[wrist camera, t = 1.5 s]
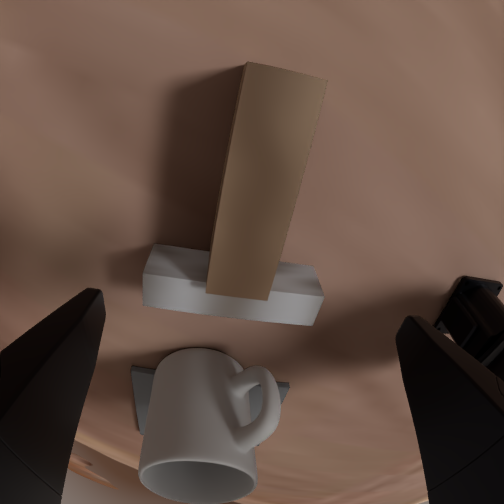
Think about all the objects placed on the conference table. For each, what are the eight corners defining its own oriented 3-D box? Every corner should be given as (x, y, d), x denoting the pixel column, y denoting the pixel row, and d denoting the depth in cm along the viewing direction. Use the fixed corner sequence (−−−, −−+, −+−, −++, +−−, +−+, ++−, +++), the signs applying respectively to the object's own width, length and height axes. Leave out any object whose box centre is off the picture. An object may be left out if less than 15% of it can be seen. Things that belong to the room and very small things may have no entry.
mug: (203, 419, 30) (202, 511, 20) (137, 377, 27) (114, 477, 17) (296, 361, 28) (324, 464, 18) (229, 304, 25) (235, 420, 15)
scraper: (365, 95, 17) (400, 105, 13) (303, 293, 24) (315, 336, 20) (176, 55, 15) (159, 50, 11) (153, 273, 22) (139, 316, 18)
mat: (288, 382, 30) (289, 387, 29) (258, 442, 37) (258, 445, 36) (132, 365, 27) (130, 370, 27) (141, 430, 34) (140, 434, 34)
